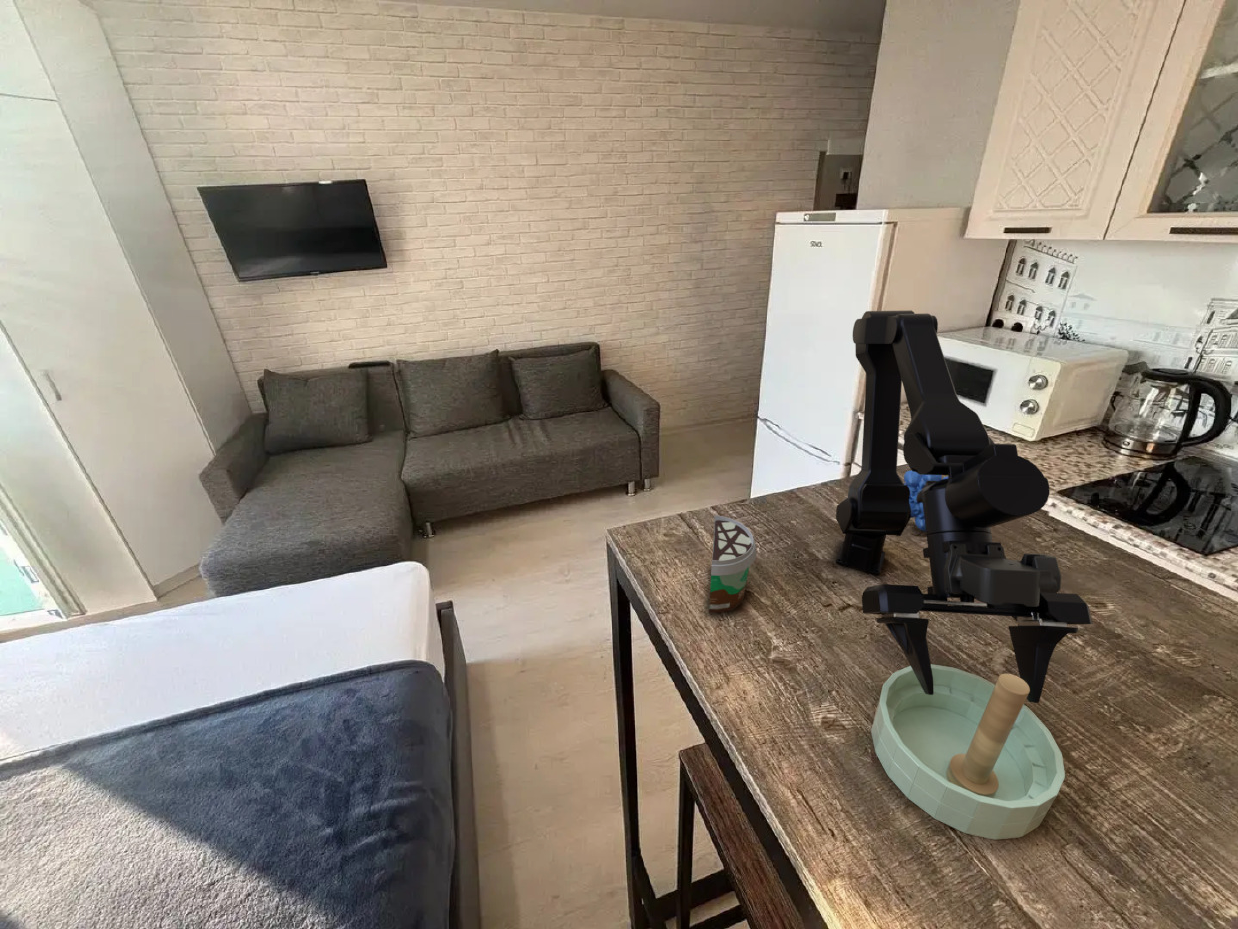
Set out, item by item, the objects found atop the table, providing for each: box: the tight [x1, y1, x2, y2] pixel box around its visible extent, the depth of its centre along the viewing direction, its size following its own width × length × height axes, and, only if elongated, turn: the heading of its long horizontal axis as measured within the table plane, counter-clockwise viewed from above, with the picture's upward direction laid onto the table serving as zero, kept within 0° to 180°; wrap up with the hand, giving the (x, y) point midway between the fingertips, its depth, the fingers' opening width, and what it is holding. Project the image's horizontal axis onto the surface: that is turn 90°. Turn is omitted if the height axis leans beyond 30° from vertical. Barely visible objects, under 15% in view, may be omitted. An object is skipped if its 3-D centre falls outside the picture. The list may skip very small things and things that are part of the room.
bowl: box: [870, 663, 1066, 841], centre depth 51 cm, size 15×15×6 cm
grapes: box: [903, 469, 948, 532], centre depth 86 cm, size 12×7×12 cm, turn 51°
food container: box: [708, 514, 757, 614], centre depth 74 cm, size 12×6×10 cm, turn 168°
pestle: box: [946, 673, 1030, 798], centre depth 47 cm, size 4×4×14 cm
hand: (980, 698), depth 49 cm, fingers open, 9 cm apart
